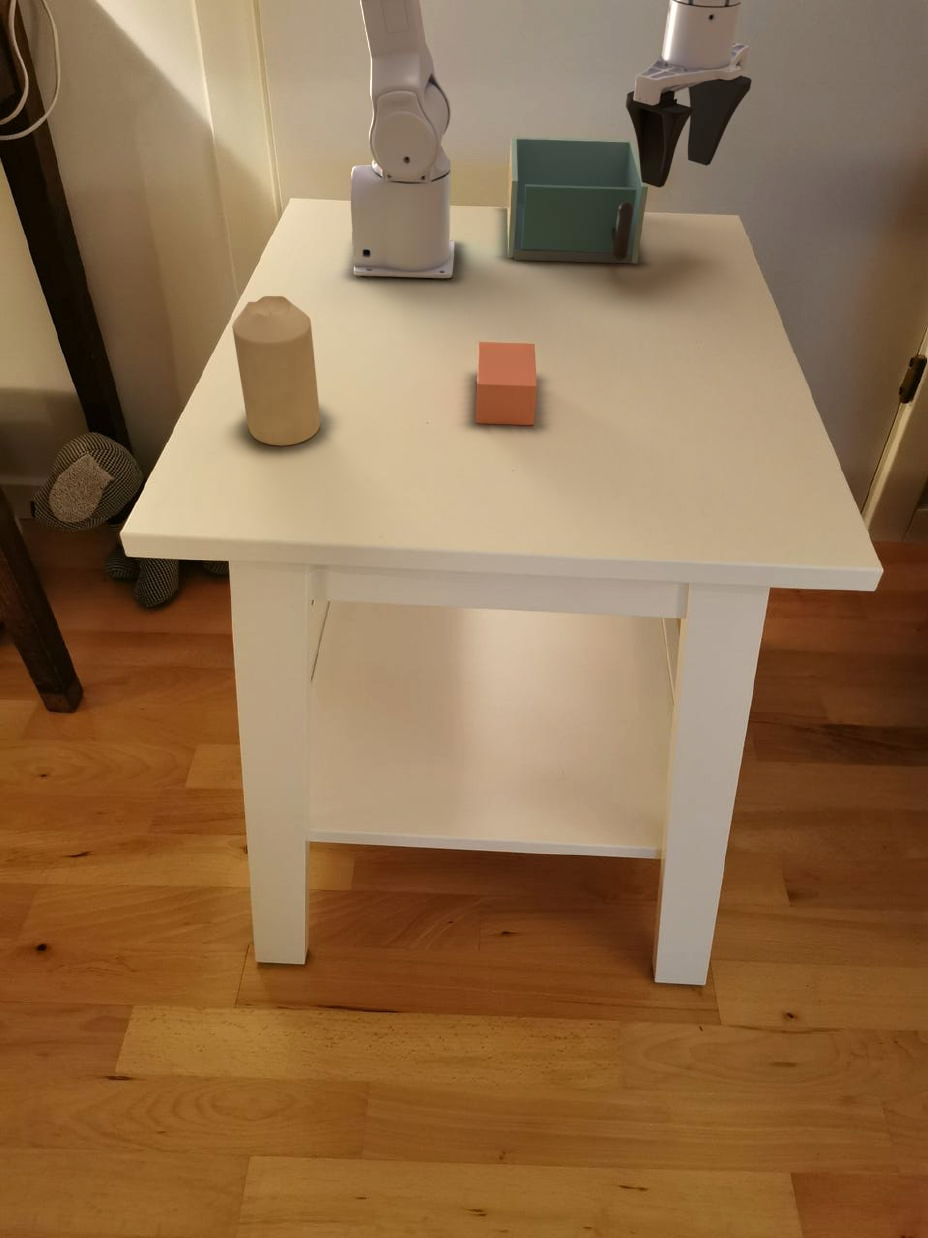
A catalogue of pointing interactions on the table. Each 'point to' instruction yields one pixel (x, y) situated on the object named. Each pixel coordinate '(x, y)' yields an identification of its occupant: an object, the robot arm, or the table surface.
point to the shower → (572, 168)
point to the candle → (277, 371)
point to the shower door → (578, 218)
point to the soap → (506, 383)
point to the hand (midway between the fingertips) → (676, 172)
